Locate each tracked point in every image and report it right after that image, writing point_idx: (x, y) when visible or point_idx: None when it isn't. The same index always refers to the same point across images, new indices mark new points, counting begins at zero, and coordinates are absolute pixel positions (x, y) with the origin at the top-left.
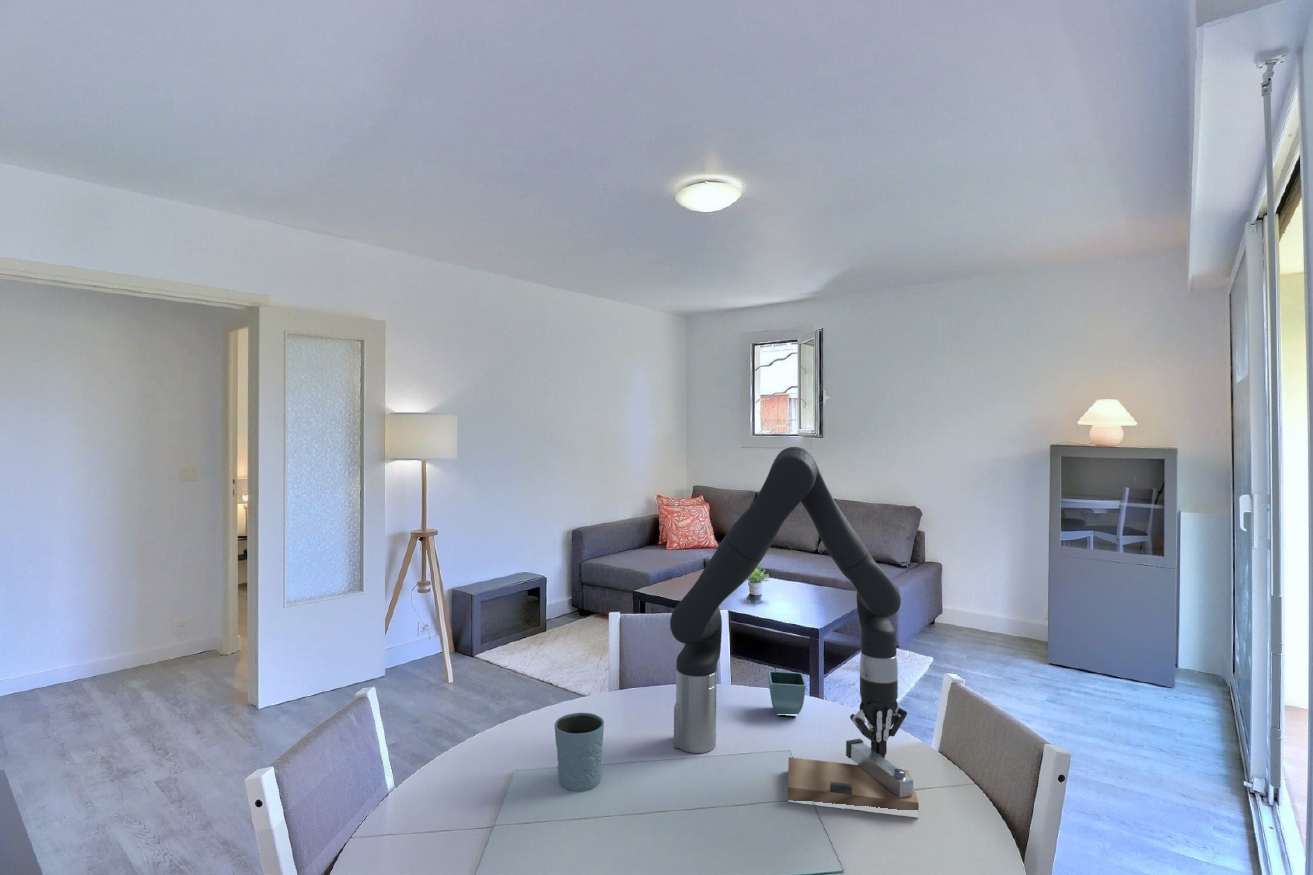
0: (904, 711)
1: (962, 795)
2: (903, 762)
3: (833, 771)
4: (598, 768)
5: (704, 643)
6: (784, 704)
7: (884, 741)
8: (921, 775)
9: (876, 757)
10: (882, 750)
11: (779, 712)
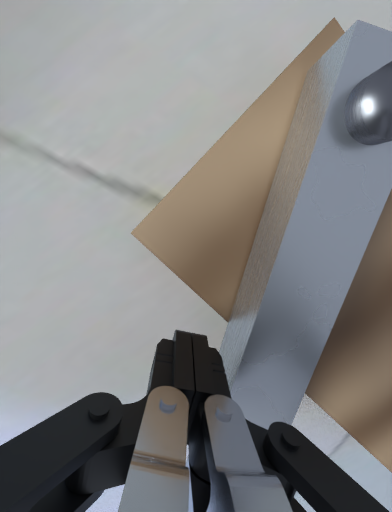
0: None
1: (10, 60)
2: (34, 327)
3: (379, 370)
4: None
5: None
6: None
7: (177, 387)
8: (43, 242)
9: (289, 319)
10: (190, 354)
11: None
